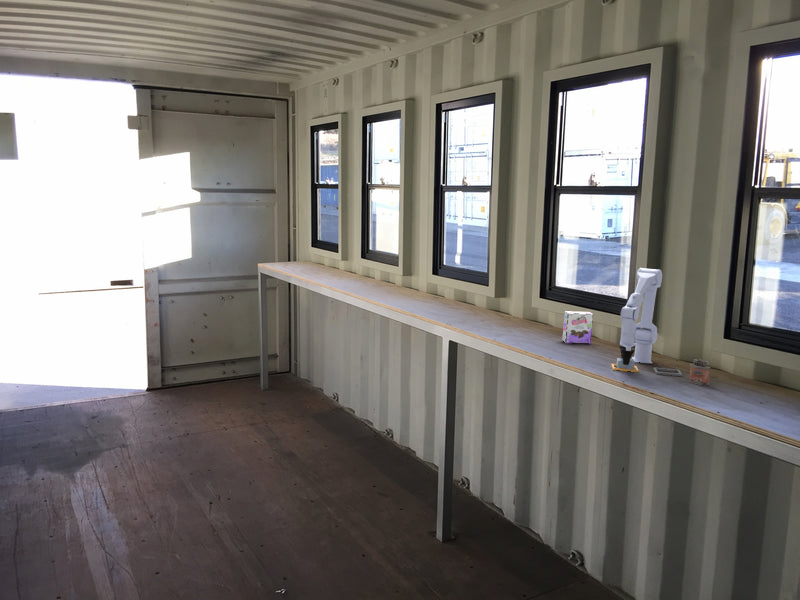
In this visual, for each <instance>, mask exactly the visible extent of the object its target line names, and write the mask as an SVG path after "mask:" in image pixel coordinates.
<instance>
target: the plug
mask: <svg viewBox="0 0 800 600" xmlns="http://www.w3.org/2000/svg"><path fill="white" fill-rule="evenodd" d="M635 363H636V362H635V361H634V358H632V357H631V359H630V362H629V365H623V359H621V358H619V357H617V358H616V364H617V366H616V367H617V368H623V369H634V366H636V365H635ZM616 367H615V368H616ZM634 370H635V369H634Z"/></svg>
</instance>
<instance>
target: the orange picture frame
mask: <svg viewBox="0 0 800 600" xmlns="http://www.w3.org/2000/svg"><path fill="white" fill-rule="evenodd" d="M610 366H611V368H612V370H613V371H616V370H620V372H627V371H631V372H630V373H639V369H638V367H637V366H636V365H634V368H635V369H623V368H616V367H614V366H617V363H611V365H610Z"/></svg>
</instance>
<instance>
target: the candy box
mask: <svg viewBox="0 0 800 600" xmlns="http://www.w3.org/2000/svg"><path fill="white" fill-rule="evenodd" d="M593 319H594V314H593V313H592V312H591V311H567V310H565V311H564V316H563V328H562V338H561V341H562V340H563V341H564V342H565V343H564V342H563V341H562V342H563V343H564V344H572V343H589V344H588V345H591V344H592V330H593Z"/></svg>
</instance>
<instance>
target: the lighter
mask: <svg viewBox="0 0 800 600" xmlns="http://www.w3.org/2000/svg"><path fill="white" fill-rule="evenodd" d="M707 365H708V366H707ZM709 365H710V361H706V360H703V359H701V358H700V359H695V358H694V359H693V363H690V364H689V367H690V370H689V377H688V382H689V383H691V384H696V385H700V386H705V385H708V386H709V383H710V382H709V380H710V379H709V378H710V372H711V371H710V370H711V367H710V366H709Z"/></svg>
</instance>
